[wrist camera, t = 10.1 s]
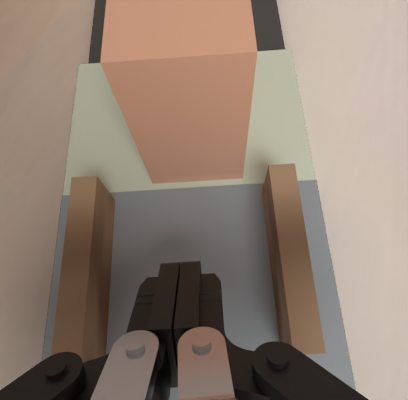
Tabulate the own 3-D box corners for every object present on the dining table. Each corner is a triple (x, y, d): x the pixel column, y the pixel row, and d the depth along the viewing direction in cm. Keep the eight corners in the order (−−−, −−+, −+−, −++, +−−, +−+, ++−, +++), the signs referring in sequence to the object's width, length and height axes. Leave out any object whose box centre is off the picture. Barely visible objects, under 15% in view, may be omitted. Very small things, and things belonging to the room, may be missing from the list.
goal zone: (308, 194, 21) (316, 180, 19) (76, 208, 21) (62, 196, 19) (286, 70, 24) (291, 48, 23) (89, 84, 25) (78, 64, 23)
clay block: (242, 178, 19) (257, 51, 11) (152, 183, 19) (100, 62, 11) (231, 54, 23) (235, -113, 14) (155, 59, 23) (116, -103, 15)
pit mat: (285, 65, 25) (286, 59, 24) (89, 79, 25) (87, 74, 25) (270, -21, 28) (271, -28, 28) (99, -8, 29) (96, -14, 28)
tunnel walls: (307, 352, 16) (325, 353, 13) (79, 362, 16) (49, 365, 13) (284, 190, 19) (294, 163, 16) (93, 201, 19) (71, 177, 16)
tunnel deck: (396, 704, 13) (425, 764, 11) (23, 710, 13) (-10, 769, 11) (308, 194, 21) (316, 179, 19) (76, 208, 21) (62, 195, 19)
